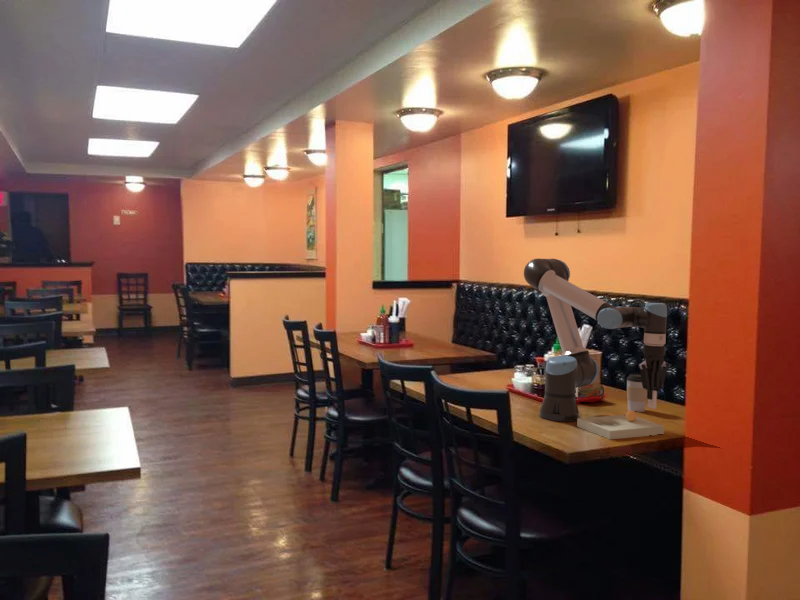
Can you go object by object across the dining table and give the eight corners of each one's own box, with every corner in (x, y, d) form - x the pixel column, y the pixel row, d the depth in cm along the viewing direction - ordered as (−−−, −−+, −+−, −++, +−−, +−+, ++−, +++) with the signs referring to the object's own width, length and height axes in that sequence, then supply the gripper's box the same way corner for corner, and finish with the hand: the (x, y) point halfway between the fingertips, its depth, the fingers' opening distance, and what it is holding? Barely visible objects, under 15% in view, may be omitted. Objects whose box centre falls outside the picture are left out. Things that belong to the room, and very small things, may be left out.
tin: (578, 404, 280) (579, 384, 280) (573, 402, 283) (574, 383, 282) (604, 401, 288) (605, 382, 287) (598, 399, 290) (599, 381, 290)
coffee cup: (627, 411, 268) (629, 375, 267) (622, 406, 277) (624, 371, 276) (650, 413, 267) (652, 376, 266) (644, 408, 276) (646, 372, 275)
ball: (622, 420, 241) (623, 409, 241) (631, 419, 242) (632, 409, 242) (630, 423, 237) (631, 412, 237) (639, 422, 239) (639, 411, 238)
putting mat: (577, 426, 242) (577, 418, 242) (628, 422, 251) (629, 414, 251) (609, 439, 225) (610, 430, 225) (663, 434, 234) (664, 426, 234)
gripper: (648, 346, 235) (645, 411, 237) (675, 345, 240) (673, 408, 241) (633, 343, 242) (630, 406, 244) (660, 343, 247) (658, 404, 248)
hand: (651, 407), depth 242 cm, fingers closed
